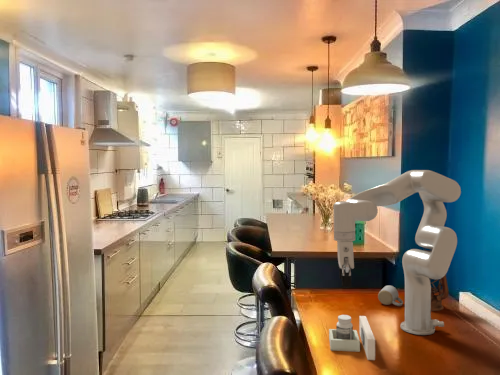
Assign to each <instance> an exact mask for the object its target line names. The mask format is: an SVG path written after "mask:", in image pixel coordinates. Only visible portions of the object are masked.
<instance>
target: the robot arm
mask: <svg viewBox="0 0 500 375" xmlns="http://www.w3.org/2000/svg"><path fill="white" fill-rule="evenodd" d="M461 190H462V189H461V186H460V185H459V183H458V182H457V181H456V180H455V179H452V178H449V177H447V176H445V175H443V174H440V173H438V172H435V171H433V170H429V169H411V170H407V171H406V172H404V173H402V174H400V175H398V176H396V177H394V178H393V179H391V180H389V181H388V182H385V183H384V184H380V185H378V186H375V187H372V188H369V189H366V190H363V191H360V192H358V193H357V194H354V195H353V196H351V197H349V198H348V199H346V200H345V201H344V200H343V201H336V202H334V203H333V207H332V208H333V240H334V241H335V242H336V244H337V245H336V250H337V261H338V262H337V263H338V267H339V268H338V272H339V273H338V275H339V276H338V278H339V280H341V286H342V287H343V288H351V287H352V272H351V270H353V269H354V268H355V262H354V261H355V260H354V259H355V258H354V257H355V256H354V241H356V222H357V221H358V222H369V221H373V220H374V219H376V217H377V215H378V213H379V212H378V211H379V210H378V207H384V206H385V207H386V206H393V205H397V204H398V203H400V202H401V201H403V200H404V199H406V198H408V197H410V196H412V195H414V194H416V193H418V194H419V197H420V200H422V204H423V214H422V217H421V220H420V223H419V225H418V228H417V230H416V233H415V237H414V241H415V244H416V245H418V246H419V247H422V248H423V250H422V249H418V248H411V249H409V250H407V251H405V252H404V254H403V256H402V259H401V260H402V262H401V263H402V269H403V274H404V321H402V322H401V323H400V329H401V330H402V331H404V332H405V333H408V334H412V335H416V336H427V335H429V336H430V335H432V334H435V331H436V327H439V328H440V327H445V322H444V321H440V320H439V319H433V318H432V317H431V316H432V315H431V314H432V311H431V287H432V285H431V284H430V283H431V282H430V281H431V280H436V279H438V280H440V279H441V278H442V277H444V276H445V274H446V275H447V273H448V271H449V268H450V265H451V262H452V260H453V257H454V254H455V252H456V249H457V245H458V237H457V233H456V232H455V231H454V229H452V228H450V227H447V226H445V224H446V221H447V214H448V213H447V209H446V206H445V204H444V203H453V202H456V201H458V199H459V198H460V196H461V194H462V191H461ZM424 248H425V249H429V250H431V249H432V252H427V251H425V250H424ZM430 278H431V279H430ZM429 279H430V280H429Z"/></svg>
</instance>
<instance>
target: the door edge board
mask: <svg viewBox="0 0 500 375" xmlns="http://www.w3.org/2000/svg"><path fill="white" fill-rule="evenodd" d="M358 317H359V320H358V321H359V323H358V324H359V327H358V328H359V332H358V333H359V334H358V335H359V338H360V340H361V343H362V346H363V349H364V352H365V356H366V359H367V361H375V360H376V338H375V334H374V333H373V331H372V328H371V326H370V323H369V321H368V320H369V319H368V318H367V316H366V315H359V316H358Z"/></svg>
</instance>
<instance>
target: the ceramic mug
mask: <svg viewBox="0 0 500 375" xmlns="http://www.w3.org/2000/svg"><path fill="white" fill-rule="evenodd" d="M377 299H378V301H379V302H380V303H381V304H382V305H385V306H388V305H392V304H393V305H394V306H396V307H401V306H403V303H404V301H403V299H401V298H400V297H399V291H398V290H397V288H396V287H394V286H393V285H385V286H384V287H383V288H382V289H381V290H379V292H378V294H377Z"/></svg>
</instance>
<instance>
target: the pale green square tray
mask: <svg viewBox="0 0 500 375" xmlns="http://www.w3.org/2000/svg"><path fill="white" fill-rule="evenodd" d="M358 333H359V332H358V331H357V329H353V340H347V339H337V334H336V328H329V329H328V334H329V335H328V338H329V349H330V351H335V352H336V351H338V352H341V351H342V352H357V353H358V352H361V341H360V340H361V339H360V336H359V334H358Z"/></svg>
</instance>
